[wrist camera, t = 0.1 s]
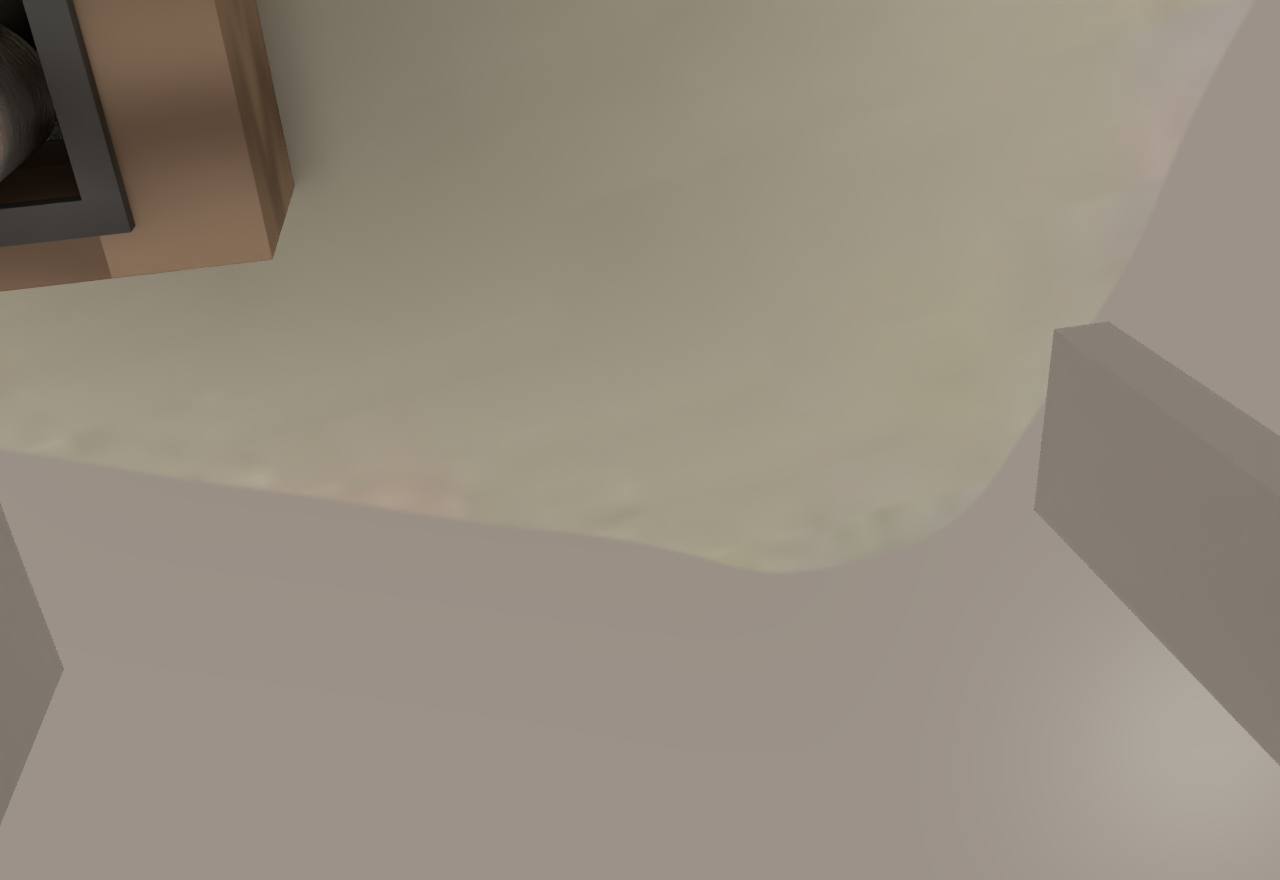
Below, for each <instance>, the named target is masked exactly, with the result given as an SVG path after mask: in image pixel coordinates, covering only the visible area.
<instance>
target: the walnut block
mask: <svg viewBox="0 0 1280 880" xmlns="http://www.w3.org/2000/svg"><path fill="white" fill-rule="evenodd" d="M22 1H23V4H24V8H25V11H26V14H27V18H28V21H29V24H30V28H31V31H32V35H33V38H34V41H35V45H36V48H37V51H38V55H39V58H40V61H41V65H42V68H43V71H44V75H45V78H46V81H47V85H48V88H49V92H50V95H51V98H52V102H53V105H54V108H55V112H56V115H57V118H58V122H59V125H60V128H61V132H62V135H63V139H57V140H48V141H46V142H45V143H44V144H43V145H42V146H41V147H40V148H39V149H38V150H37V151H36V152H35V153H34V154H32V155H31V156H30V157H29V158H28V159H27V160H25V161H24V162H23V163H22V164H21V165H19V166H18V167H17V168H16V169H15V170H13V171H12V172H11V173H10V174H9V175H8V176H6V177H5V178H4V179H3V180H2V181H0V291H9V290H17V289H26V288H34V287H43V286H51V285H60V284H68V283H77V282H85V281H94V280H102V279H110V278H119V277H127V276H136V275H144V274H153V273H161V272H170V271H178V270H187V269H195V268H204V267H212V266H221V265H229V264H238V263H246V262H255V261H263V260H272V259H273V255H274V252H275V249H276V246H277V242H278V239H279V236H280V232H281V229H282V226H283V222H284V219H285V216H286V213H287V209H288V206H289V203H290V199H291V196H292V193H293V189H294V183H293V178H292V174H291V169H290V164H289V159H288V154H287V150H286V145H285V140H284V135H283V130H282V126H281V121H280V116H279V111H278V106H277V101H276V97H275V92H274V87H273V82H272V77H271V73H270V68H269V63H268V58H267V53H266V49H265V44H264V39H263V34H262V29H261V25H260V20H259V15H258V10H257V5H256V1H255V0H22Z"/></svg>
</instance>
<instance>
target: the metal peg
mask: <svg viewBox="0 0 1280 880" xmlns="http://www.w3.org/2000/svg"><path fill="white" fill-rule="evenodd" d="M56 116H57V115H56V112H55V108H54V105H53V102H52V98H51V95H50V92H49V88H48V85H47V81H46V78H45V75H44V71H43V68H42V65H41V61H40V58H39V55H38V54H37V53H36V51H35V50H34V49H33V48H32V47H31V46H30V45H29V44H28V43H27V42H26V41H25V40H24V39H22V38H21V37H20V36H18V35H17V34H16V33H14V32H13V31H11V30H10V29H8V28H6V27H4V26H2V25H0V181H2V180H3V179H4V178H5V177H6V176H8V175H9V174H10V173H11V172H12V171H13V170H15V169H16V168H17V167H18V166H19V165H21V164H22V163H23V162H24V161H25V160H27V159H28V158H29V157H30V156H31V155H32V154H34V153H35V152H36V151H37V150H38V149H39V148H40V147H41V146H42V145H43V144H44V143H45V142H46V140H47V139H48V137H49V136H50V134H51V132H52V130H53V127H54V124H55V121H56Z"/></svg>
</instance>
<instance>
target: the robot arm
mask: <svg viewBox="0 0 1280 880" xmlns="http://www.w3.org/2000/svg"><path fill="white" fill-rule="evenodd" d="M1034 510H1035V511H1036V512H1037V513H1038V514H1039V515H1040V516H1041V517H1042V518H1043V519H1044V520H1045V521H1046V522H1047V523H1048V525H1049V526H1050V527H1051V528H1052V529H1053V530H1054V531H1055V532H1056V533H1057V534H1058V535H1059V536H1060V537H1061V538H1062V539H1063V540H1064V541H1065V542H1066V543H1067V544H1068V545H1069V546H1070V547H1071V548H1072V550H1073V551H1074V552H1075V553H1076V554H1077V555H1078V556H1079V557H1080V558H1081V559H1082V560H1083V561H1084V562H1085V563H1086V564H1087V565H1088V566H1089V567H1090V568H1091V569H1092V570H1093V571H1094V573H1095V574H1096V575H1097V576H1098V577H1099V578H1100V579H1101V580H1102V581H1103V582H1104V583H1105V584H1106V585H1107V586H1108V587H1109V588H1110V589H1111V590H1112V591H1113V592H1114V593H1115V594H1116V595H1117V596H1118V597H1119V599H1120V600H1121V601H1122V602H1123V603H1124V604H1125V605H1126V606H1127V607H1128V608H1129V609H1130V610H1131V611H1132V612H1133V613H1134V614H1135V615H1136V616H1137V617H1138V618H1139V619H1140V620H1141V622H1143V624H1144V625H1145V626H1146V627H1147V628H1148V629H1149V630H1150V631H1151V632H1152V633H1153V634H1154V635H1155V636H1156V637H1157V638H1158V639H1159V640H1160V641H1161V642H1162V643H1163V644H1164V645H1165V646H1166V648H1167V649H1168V650H1169V651H1170V652H1171V653H1172V654H1173V655H1174V656H1175V657H1176V658H1177V659H1178V660H1179V661H1180V662H1181V663H1182V664H1183V665H1184V666H1185V667H1186V668H1187V669H1188V671H1190V673H1191V674H1192V675H1193V676H1194V677H1195V678H1196V679H1197V680H1198V681H1199V682H1200V683H1201V684H1202V685H1203V686H1204V687H1205V688H1206V689H1207V690H1208V691H1209V692H1210V693H1211V694H1212V695H1213V697H1214V698H1215V699H1216V700H1217V701H1218V702H1219V703H1220V704H1221V705H1222V706H1223V707H1224V708H1225V709H1226V710H1227V711H1228V712H1229V713H1230V714H1231V715H1232V716H1233V717H1234V718H1235V719H1236V721H1237V722H1238V723H1239V724H1240V725H1241V726H1242V727H1243V728H1244V729H1245V730H1246V731H1247V732H1248V733H1249V734H1250V735H1251V736H1252V737H1253V738H1254V739H1255V740H1256V741H1257V742H1258V743H1259V745H1260V746H1262V748H1263V749H1264V750H1265V751H1266V752H1267V753H1268V754H1269V755H1270V756H1271V757H1272V758H1273V759H1274V760H1275V761H1276V762H1277V763H1278V764H1279V765H1280V436H1279V435H1277V434H1276V433H1274V432H1273V431H1271V430H1270V429H1268V428H1267V427H1265V426H1264V425H1262V424H1261V423H1259V422H1258V421H1256V420H1255V419H1253V418H1252V417H1250V416H1249V415H1247V414H1246V413H1244V412H1243V411H1241V410H1240V409H1238V408H1237V407H1235V406H1234V405H1232V404H1231V403H1229V402H1228V401H1226V400H1225V399H1223V398H1222V397H1220V396H1219V395H1217V394H1216V393H1214V392H1213V391H1211V390H1210V389H1208V388H1207V387H1205V386H1204V385H1202V384H1201V383H1199V382H1198V381H1197V380H1195V379H1194V378H1192V377H1191V376H1189V375H1187V374H1186V373H1185V372H1183V371H1182V370H1180V369H1179V368H1177V367H1176V366H1174V365H1173V364H1171V363H1169V362H1168V361H1166V360H1165V359H1164V358H1162V357H1161V356H1159V355H1158V354H1156V353H1155V352H1153V351H1152V350H1150V349H1149V348H1147V347H1146V346H1144V345H1143V344H1141V343H1140V342H1138V341H1137V340H1135V339H1134V338H1132V337H1131V336H1129V335H1128V334H1126V333H1125V332H1123V331H1122V330H1120V329H1119V328H1117V327H1116V326H1114V325H1113V324H1111V323H1110V322H1102V323H1095V324H1088V325H1081V326H1074V327H1067V328H1060V329H1054V335H1053V344H1052V353H1051V362H1050V371H1049V380H1048V389H1047V398H1046V407H1045V416H1044V425H1043V434H1042V443H1041V452H1040V461H1039V470H1038V479H1037V489H1036V497H1035V506H1034ZM63 669H64V668H63V665H62V663H61V660H60V657H59V655H58V652H57V650H56V647H55V644H54V642H53V639H52V637H51V634H50V632H49V629H48V626H47V624H46V621H45V618H44V616H43V613H42V611H41V608H40V606H39V603H38V601H37V598H36V595H35V593H34V590H33V587H32V585H31V582H30V580H29V577H28V575H27V572H26V569H25V567H24V564H23V561H22V559H21V556H20V554H19V551H18V548H17V546H16V543H15V541H14V538H13V535H12V533H11V530H10V528H9V525H8V522H7V520H6V517H5V515H4V512H3V509H2V507H1V504H0V824H1V822H2V819H3V817H4V815H5V812H6V810H7V807H8V805H9V802H10V800H11V797H12V795H13V792H14V790H15V787H16V785H17V783H18V780H19V778H20V775H21V772H22V770H23V768H24V765H25V763H26V760H27V758H28V755H29V753H30V750H31V748H32V746H33V743H34V740H35V738H36V736H37V733H38V731H39V728H40V726H41V723H42V721H43V718H44V716H45V714H46V711H47V709H48V706H49V704H50V701H51V699H52V696H53V694H54V691H55V689H56V686H57V684H58V682H59V679H60V677H61V674H62V672H63Z"/></svg>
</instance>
